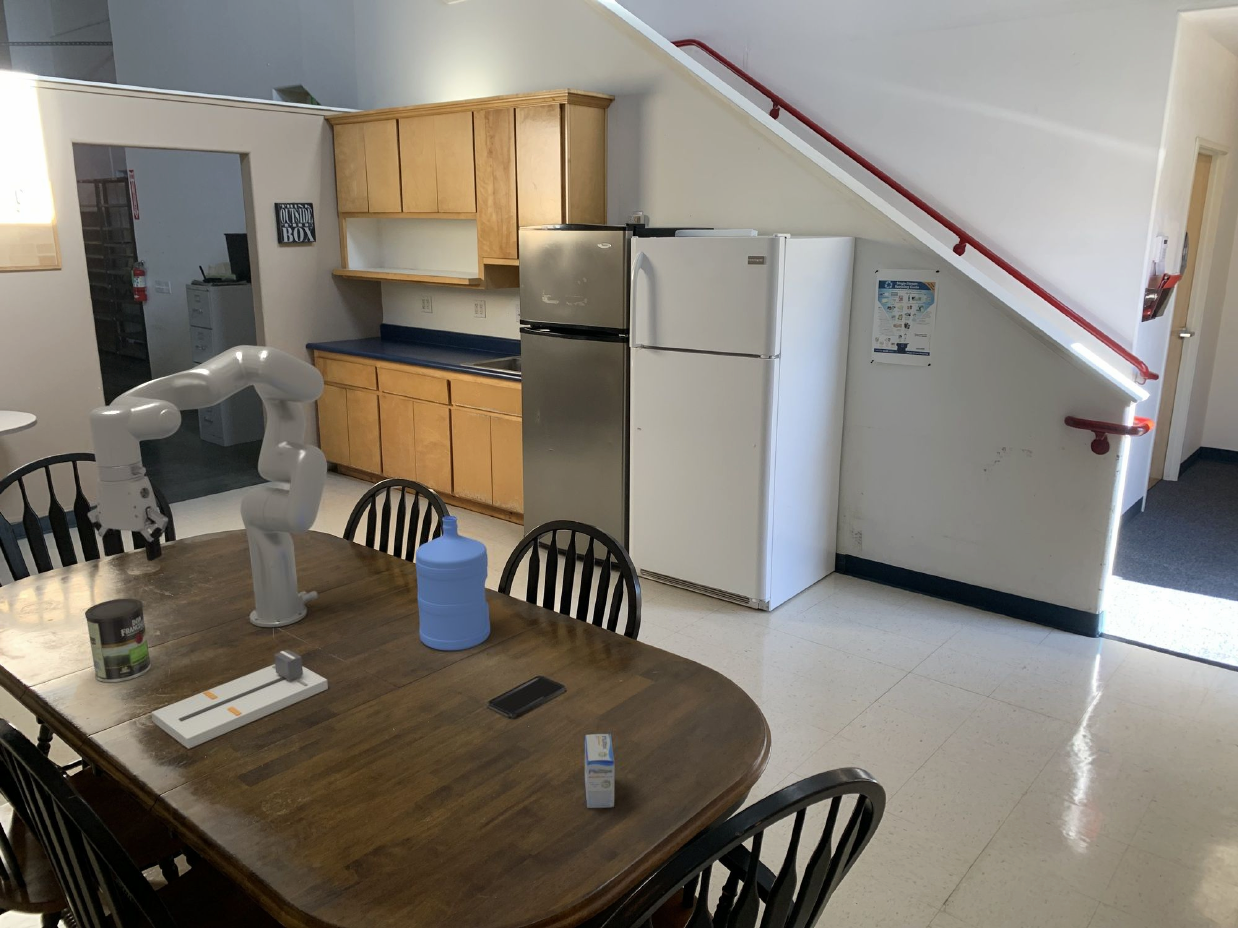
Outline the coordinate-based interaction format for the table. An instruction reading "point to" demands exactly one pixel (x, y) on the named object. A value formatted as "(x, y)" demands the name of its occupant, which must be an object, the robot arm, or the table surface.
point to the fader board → (235, 704)
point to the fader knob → (288, 664)
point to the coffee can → (118, 640)
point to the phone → (525, 697)
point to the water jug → (452, 590)
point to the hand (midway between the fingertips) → (133, 556)
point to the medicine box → (599, 771)
